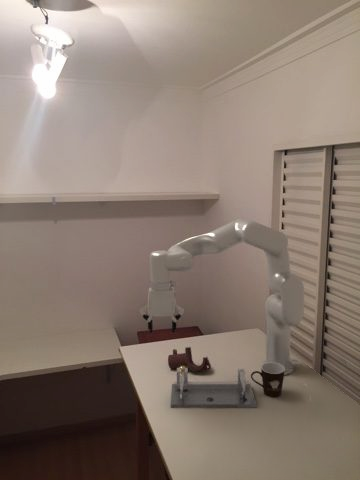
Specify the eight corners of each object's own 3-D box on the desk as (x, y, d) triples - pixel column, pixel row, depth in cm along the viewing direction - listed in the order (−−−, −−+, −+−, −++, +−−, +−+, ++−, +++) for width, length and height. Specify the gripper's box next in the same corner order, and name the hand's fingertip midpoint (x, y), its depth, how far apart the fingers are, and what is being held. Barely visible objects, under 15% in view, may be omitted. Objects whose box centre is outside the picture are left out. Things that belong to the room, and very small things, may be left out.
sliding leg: (187, 383, 161) (187, 364, 159) (187, 399, 151) (187, 378, 149) (177, 383, 161) (176, 364, 160) (176, 399, 151) (175, 378, 149)
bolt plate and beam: (250, 386, 162) (250, 366, 160) (256, 407, 148) (256, 385, 146) (172, 386, 162) (171, 366, 161) (170, 407, 149) (170, 386, 147)
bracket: (209, 370, 169) (206, 344, 171) (169, 374, 173) (166, 349, 175) (212, 369, 175) (209, 344, 177) (173, 373, 179) (170, 349, 181)
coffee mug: (286, 389, 159) (287, 364, 157) (281, 401, 151) (282, 375, 149) (255, 383, 164) (256, 359, 162) (249, 394, 156) (250, 369, 154)
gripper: (185, 281, 155) (186, 327, 159) (138, 282, 156) (140, 327, 159) (185, 288, 148) (185, 335, 151) (135, 288, 149) (137, 335, 152)
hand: (162, 331), depth 155 cm, fingers open, 7 cm apart
